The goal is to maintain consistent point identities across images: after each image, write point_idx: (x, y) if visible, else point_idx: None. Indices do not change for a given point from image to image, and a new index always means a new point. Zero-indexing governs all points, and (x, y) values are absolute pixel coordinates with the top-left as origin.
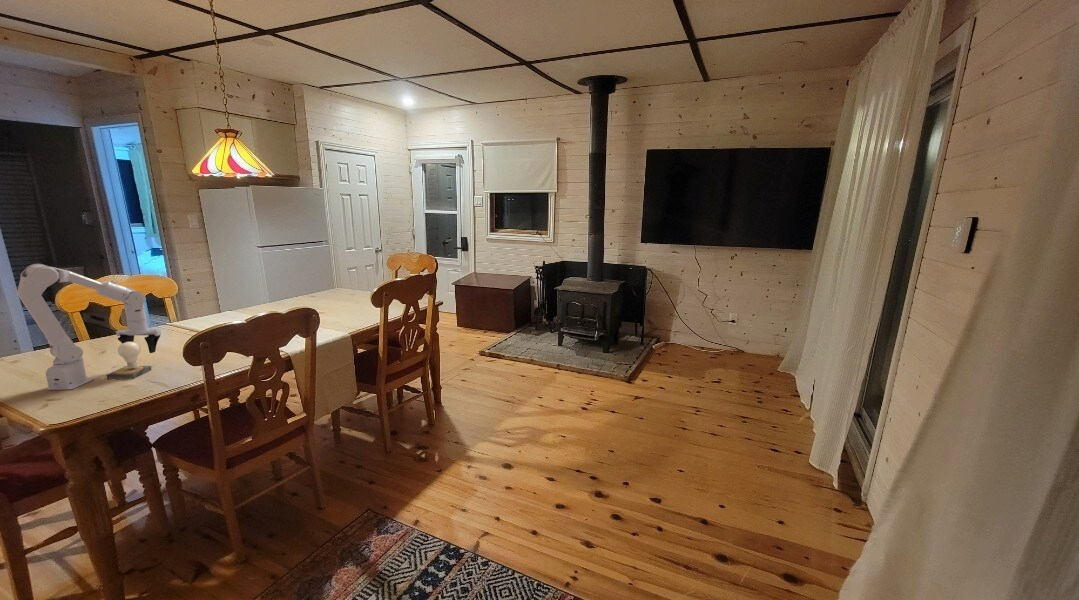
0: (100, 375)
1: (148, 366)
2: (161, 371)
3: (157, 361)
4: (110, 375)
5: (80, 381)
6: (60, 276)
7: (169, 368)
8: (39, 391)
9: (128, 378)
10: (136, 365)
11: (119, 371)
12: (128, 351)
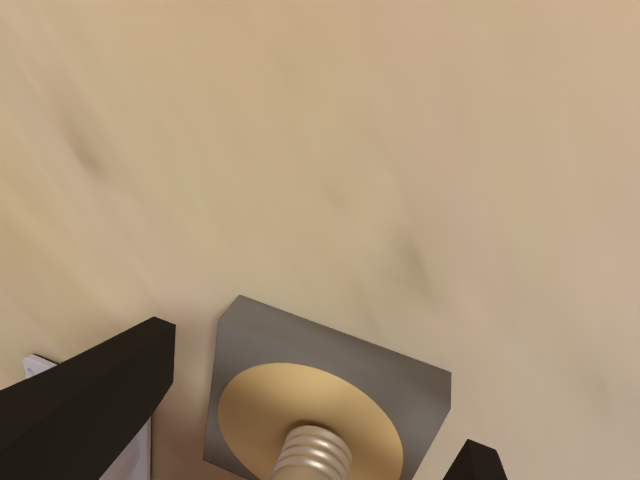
0: None
1: (433, 418)
2: (554, 445)
3: (420, 69)
4: (230, 463)
5: (129, 472)
6: None
7: (622, 398)
8: None
9: None
10: (347, 467)
11: (254, 450)
12: None
